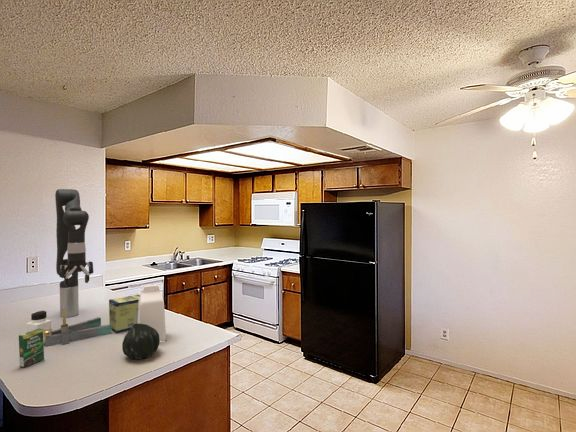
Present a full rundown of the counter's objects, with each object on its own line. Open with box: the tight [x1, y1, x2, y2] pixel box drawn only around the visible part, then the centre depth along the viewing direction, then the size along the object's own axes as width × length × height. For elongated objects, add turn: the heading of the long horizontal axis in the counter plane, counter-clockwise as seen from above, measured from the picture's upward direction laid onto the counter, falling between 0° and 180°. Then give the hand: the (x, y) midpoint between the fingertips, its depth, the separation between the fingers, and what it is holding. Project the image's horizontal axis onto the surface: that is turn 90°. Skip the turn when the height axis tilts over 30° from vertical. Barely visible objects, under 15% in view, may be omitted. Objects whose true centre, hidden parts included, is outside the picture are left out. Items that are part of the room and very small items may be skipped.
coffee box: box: [18, 328, 45, 369], centre depth 137 cm, size 8×3×13 cm, turn 159°
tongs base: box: [43, 323, 113, 347], centre depth 164 cm, size 11×29×6 cm, turn 126°
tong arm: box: [50, 316, 102, 335], centre depth 170 cm, size 2×24×4 cm, turn 151°
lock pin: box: [61, 309, 67, 326], centre depth 164 cm, size 2×2×9 cm
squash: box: [121, 324, 160, 360], centre depth 144 cm, size 14×15×15 cm
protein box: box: [108, 294, 141, 335], centre depth 178 cm, size 10×16×16 cm
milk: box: [138, 284, 167, 343], centre depth 162 cm, size 12×12×26 cm
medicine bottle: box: [26, 310, 52, 338], centre depth 166 cm, size 7×7×12 cm
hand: (77, 284), depth 165 cm, fingers open, 8 cm apart
